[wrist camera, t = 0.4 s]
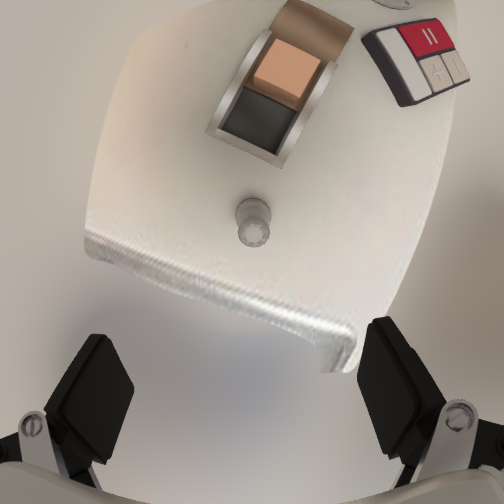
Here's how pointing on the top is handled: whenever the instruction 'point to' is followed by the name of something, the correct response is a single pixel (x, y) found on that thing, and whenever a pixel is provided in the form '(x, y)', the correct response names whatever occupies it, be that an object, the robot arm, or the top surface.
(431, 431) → the robot arm
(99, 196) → the top surface
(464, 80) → the calculator
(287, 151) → the metal sorting tray
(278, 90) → the block
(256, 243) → the rook chess piece
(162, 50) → the top surface
